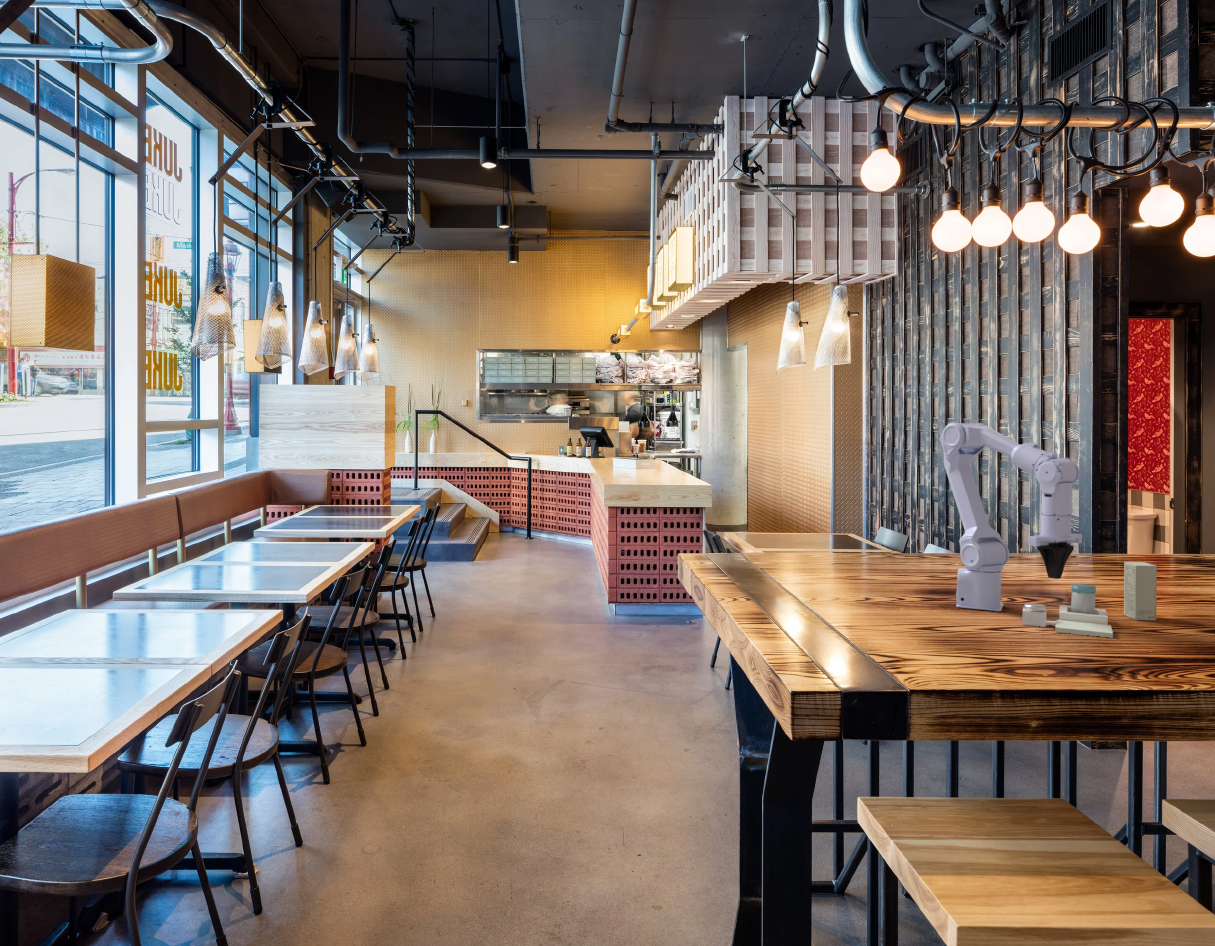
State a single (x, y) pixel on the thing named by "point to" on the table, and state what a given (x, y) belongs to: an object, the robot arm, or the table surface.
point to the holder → (1064, 617)
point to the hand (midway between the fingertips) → (1054, 578)
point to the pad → (1083, 628)
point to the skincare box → (1140, 590)
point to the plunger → (1034, 607)
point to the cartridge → (1083, 598)
